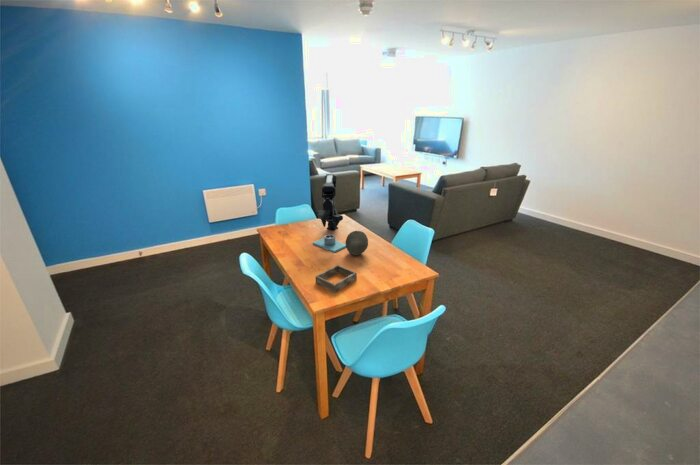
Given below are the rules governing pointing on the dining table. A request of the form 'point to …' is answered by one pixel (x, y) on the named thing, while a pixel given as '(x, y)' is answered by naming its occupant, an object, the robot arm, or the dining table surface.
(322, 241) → the shaft base
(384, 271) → the dining table surface
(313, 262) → the dining table surface
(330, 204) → the robot arm
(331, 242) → the block
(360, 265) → the dining table surface
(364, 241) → the dark grey ball
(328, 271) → the frame
